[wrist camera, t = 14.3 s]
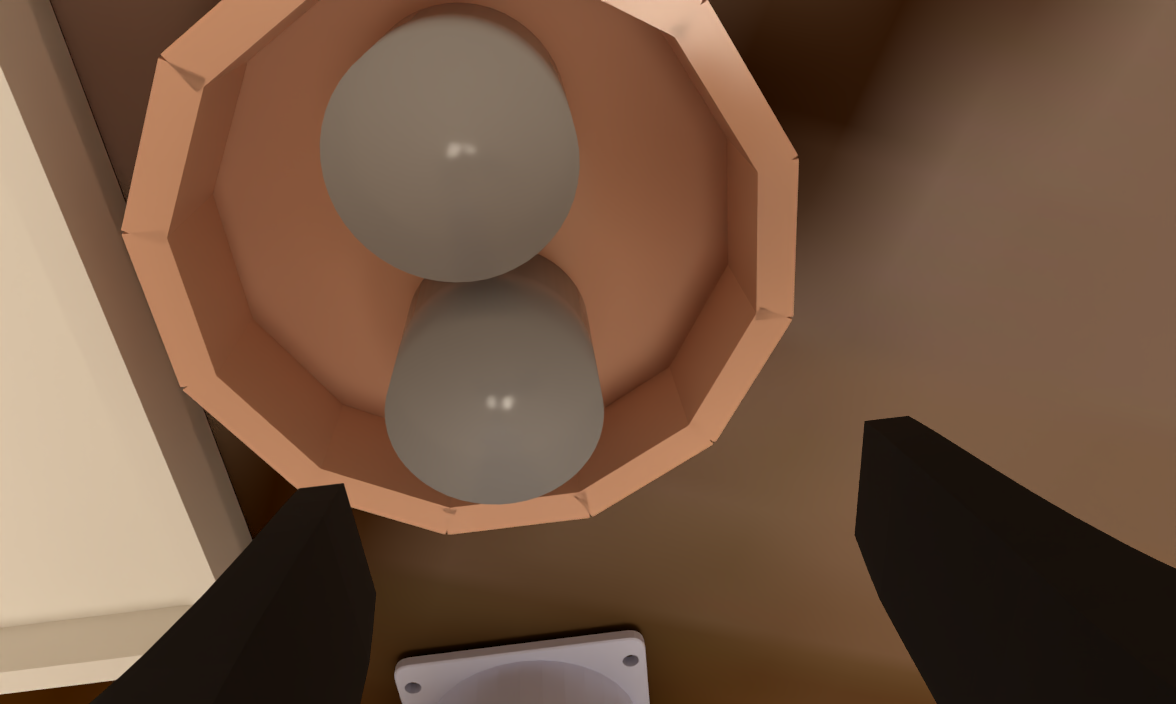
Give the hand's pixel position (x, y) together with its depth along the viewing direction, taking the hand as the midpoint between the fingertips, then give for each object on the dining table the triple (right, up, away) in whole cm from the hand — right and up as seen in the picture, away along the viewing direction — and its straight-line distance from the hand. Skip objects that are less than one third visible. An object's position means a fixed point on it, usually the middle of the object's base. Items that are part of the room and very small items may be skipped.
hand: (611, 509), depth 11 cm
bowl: (-3, +5, +8) cm, 10 cm away
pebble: (-3, +7, +6) cm, 10 cm away
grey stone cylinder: (-2, +3, +9) cm, 9 cm away
